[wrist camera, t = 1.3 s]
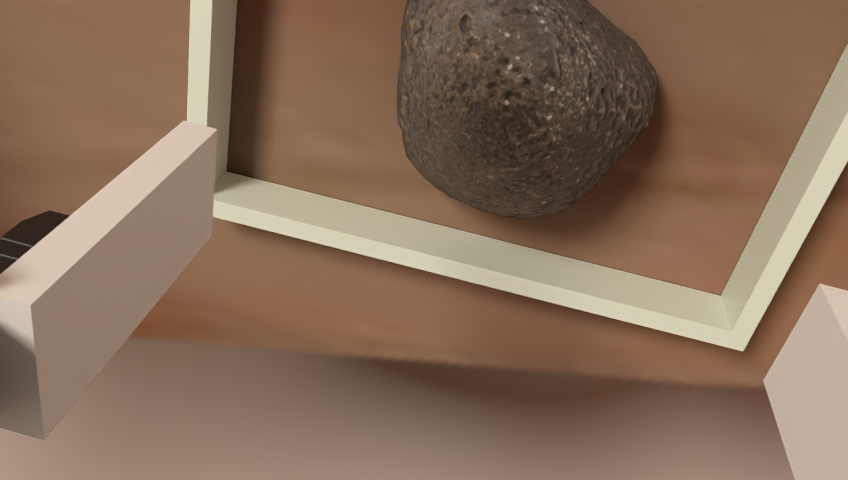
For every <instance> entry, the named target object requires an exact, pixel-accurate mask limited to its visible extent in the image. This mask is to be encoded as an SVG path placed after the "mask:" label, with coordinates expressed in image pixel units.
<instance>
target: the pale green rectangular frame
mask: <svg viewBox="0 0 848 480" xmlns="http://www.w3.org/2000/svg"><path fill="white" fill-rule="evenodd" d="M236 12H237V0H191V2H190V36H189V69H188V103H187V122H191V123H195V124H199V125H203V126H207V127H211V128H215V129H218V130H217V149H216V168H215V186H214V205H213V217H216V218H220V219H224V220H228V221H232V222H236V223H240V224H244V225H248V226H251V227H255V228H259V229H263V230H267V231H271V232H275V233H279V234H283V235H287V236H291V237H295V238H299V239H303V240H307V241H310V242H314V243H318V244H322V245H326V246H330V247H334V248H338V249H342V250H346V251H350V252H354V253H358V254H362V255H366V256H369V257H373V258H377V259H381V260H385V261H389V262H393V263H397V264H401V265H405V266H409V267H413V268H417V269H421V270H425V271H428V272H432V273H436V274H440V275H444V276H448V277H452V278H456V279H460V280H464V281H468V282H472V283H476V284H480V285H484V286H488V287H491V288H495V289H499V290H503V291H507V292H511V293H515V294H519V295H523V296H527V297H531V298H535V299H539V300H543V301H547V302H550V303H554V304H558V305H562V306H566V307H570V308H574V309H578V310H582V311H586V312H590V313H594V314H598V315H602V316H606V317H609V318H613V319H617V320H621V321H625V322H629V323H633V324H637V325H641V326H645V327H649V328H653V329H657V330H661V331H665V332H668V333H672V334H676V335H680V336H684V337H688V338H692V339H696V340H700V341H704V342H708V343H712V344H716V345H720V346H724V347H727V348H731V349H735V350H739V351H744V349H745V347H746V345H747V344H748V342H749V340H750V338H751V336H752V334H753V333H754V331H755V329H756V327H757V325H758V324H759V322H760V320H761V318H762V316H763V314H764V313H765V311H766V309H767V307H768V305H769V304H770V302H771V300H772V298H773V296H774V294H775V293H776V291H777V289H778V287H779V285H780V283H781V282H782V280H783V278H784V276H785V274H786V273H787V271H788V269H789V267H790V265H791V263H792V262H793V260H794V258H795V256H796V254H797V252H798V251H799V249H800V247H801V245H802V243H803V242H804V240H805V238H806V236H807V234H808V232H809V231H810V229H811V227H812V225H813V223H814V221H815V220H816V218H817V216H818V214H819V212H820V211H821V209H822V207H823V205H824V203H825V201H826V200H827V198H828V196H829V194H830V192H831V190H832V189H833V187H834V185H835V183H836V181H837V180H838V178H839V176H840V174H841V172H842V170H843V169H844V167H845V165H846V163H847V161H848V44H847V46H846V48H845V50H844V52H843V54H842V56H841V58H840V60H839V62H838V64H837V66H836V68H835V70H834V72H833V74H832V76H831V78H830V80H829V82H828V84H827V86H826V88H825V90H824V92H823V94H822V96H821V98H820V100H819V102H818V104H817V106H816V108H815V109H814V111H813V113H812V115H811V117H810V119H809V121H808V123H807V125H806V127H805V129H804V131H803V133H802V135H801V137H800V139H799V141H798V143H797V145H796V147H795V149H794V151H793V153H792V155H791V157H790V159H789V161H788V163H787V165H786V167H785V169H784V171H783V173H782V175H781V177H780V179H779V181H778V183H777V185H776V187H775V189H774V191H773V193H772V195H771V197H770V199H769V201H768V203H767V205H766V207H765V209H764V211H763V213H762V215H761V217H760V219H759V221H758V223H757V225H756V227H755V229H754V231H753V233H752V235H751V237H750V239H749V241H748V243H747V245H746V247H745V249H744V251H743V253H742V255H741V257H740V259H739V261H738V263H737V265H736V267H735V269H734V271H733V273H732V275H731V277H730V279H729V281H728V283H727V285H726V287H725V289H724V291H723V293H722V295H721V296H719V295H715V294H711V293H707V292H703V291H699V290H695V289H691V288H687V287H683V286H679V285H675V284H671V283H667V282H663V281H659V280H655V279H651V278H647V277H643V276H639V275H635V274H632V273H628V272H624V271H620V270H616V269H612V268H608V267H604V266H600V265H596V264H592V263H588V262H584V261H580V260H576V259H572V258H568V257H564V256H560V255H556V254H552V253H548V252H544V251H540V250H536V249H532V248H528V247H524V246H520V245H516V244H512V243H508V242H505V241H501V240H497V239H493V238H489V237H485V236H481V235H477V234H473V233H469V232H465V231H461V230H457V229H453V228H449V227H445V226H441V225H437V224H433V223H429V222H425V221H421V220H417V219H413V218H409V217H405V216H401V215H397V214H393V213H389V212H385V211H381V210H377V209H374V208H370V207H366V206H362V205H358V204H354V203H350V202H346V201H342V200H338V199H334V198H330V197H326V196H322V195H318V194H314V193H310V192H306V191H302V190H298V189H294V188H290V187H286V186H282V185H278V184H274V183H270V182H266V181H262V180H258V179H254V178H250V177H247V176H243V175H239V174H235V173H231V172H227V157H228V141H229V125H230V109H231V93H232V77H233V61H234V45H235V29H236Z"/></svg>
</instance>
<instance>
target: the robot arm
mask: <svg viewBox="0 0 848 480" xmlns="http://www.w3.org/2000/svg"><path fill="white" fill-rule="evenodd" d="M217 130H218V129H215V128H211V127H207V126H203V125H199V124H195V123H191V122H187V121H183V122H181V123H180V124H179V125H178V126H177V127H176V128H174V129H173V130H172V131H171V132H170V133H168V134H167V135H166V136H165V137H164V138H162V139H161V140H160V141H159V142H158V143H156V144H155V145H154V146H153V147H152V148H150V149H149V150H148V151H147V152H146V153H144V154H143V155H142V156H141V157H140V158H139V159H137V160H136V161H135V162H134V163H133V164H131V165H130V166H129V167H128V168H127V169H125V170H124V171H123V172H122V173H121V174H119V175H118V176H117V177H116V178H115V179H113V180H112V181H111V182H110V183H109V184H107V185H106V186H105V187H104V188H103V189H102V190H100V191H99V192H98V193H97V194H96V195H94V196H93V197H92V198H91V199H90V200H88V201H87V202H86V203H85V204H84V205H82V206H81V207H80V208H79V209H78V210H76V211H75V212H74V213H73V214H72V215H70V216H68V215H65V214H61V213H57V212H53V211H47V212H45V213H42V214H39V215H37V216H34V217H31V218H29V219H26V220H23V221H21V222H20V223H19V224H18V225H16V226H15V227H14V228H12V229H11V230H10V231H8V232H7V233H6V234H5V235H3V236H2V239H1V240H0V428H4V429H8V430H11V431H15V432H19V433H22V434H25V435H29V436H33V437H36V438H40V439H43V440H44V439H45V438H46V437H47V436H48V434H49V433H50V432H51V431H52V430H53V428H54V427H55V426H56V425H57V424H58V422H59V421H60V420H61V419H62V417H63V416H64V415H65V414H66V413H67V411H68V410H69V409H70V408H71V406H72V405H73V404H74V403H75V402H76V400H77V399H78V398H79V397H80V395H81V394H82V393H83V392H84V391H85V389H86V388H87V387H88V386H89V384H90V383H91V382H92V381H93V380H94V379H95V377H96V376H97V375H98V374H99V372H100V371H101V370H102V369H103V368H104V366H105V365H106V364H107V363H108V361H109V360H110V359H111V358H112V357H113V355H114V354H115V353H116V352H117V350H118V349H119V348H120V347H121V346H122V344H123V343H124V342H125V341H126V340H127V338H128V337H129V336H130V335H131V333H132V332H133V331H134V330H135V329H136V327H137V326H138V325H139V324H140V322H141V321H142V320H143V319H144V318H145V316H146V315H147V314H148V313H149V312H150V310H151V309H152V308H153V307H154V305H155V304H156V303H157V302H158V301H159V299H160V298H161V297H162V296H163V294H164V293H165V292H166V291H167V290H168V288H169V287H170V286H171V285H172V283H173V282H174V281H175V280H176V279H177V277H178V276H179V275H180V274H181V273H182V271H183V270H184V269H185V268H186V266H187V265H188V264H189V263H190V262H191V260H192V259H193V258H194V257H195V255H196V254H197V253H198V252H199V251H200V249H201V248H202V247H203V246H204V245H205V243H206V242H207V241H208V240H209V238H210V237H211V236H212V223H213V205H214V186H215V168H216V149H217ZM763 381H764V385H765V388H766V391H767V394H768V397H769V400H770V403H771V406H772V410H773V412H774V416H775V419H776V422H777V425H778V428H779V432H780V435H781V438H782V441H783V444H784V447H785V450H786V453H787V457H788V460H789V462H790V466H791V469H792V472H793V475H794V479H795V480H848V291H846V290H842V289H838V288H834V287H831V286H827V285H823V284H819V286H818V287H817V289H816V291H815V292H814V294H813V296H812V298H811V299H810V301H809V303H808V305H807V306H806V308H805V310H804V311H803V313H802V315H801V317H800V318H799V320H798V322H797V323H796V325H795V327H794V329H793V330H792V332H791V334H790V335H789V337H788V339H787V341H786V342H785V344H784V346H783V348H782V349H781V351H780V353H779V354H778V356H777V358H776V360H775V361H774V363H773V365H772V366H771V368H770V370H769V372H768V373H767V375H766V377H765V378H764V380H763Z"/></svg>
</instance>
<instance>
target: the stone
mask: <svg viewBox="0 0 848 480" xmlns="http://www.w3.org/2000/svg"><path fill="white" fill-rule="evenodd" d="M656 87H657V78H656V70H655V69H654V68H653V66H652V65H651V64H650V62H649V61H648V59H647V58H646V56H645V55H644V53H643V52H642V50H641V49H640V47H639V46H638V44H637V43H636V42H635V41H634V40H633V39H632V38H630V37H629V36H628V35H626V34H625V33H624V32H623V31H621V30H620V29H619V28H618V27H616V26H615V25H614V24H613V23H612V22H610V21H609V20H608V19H607V18H606V17H605V16H604V15H603V14H601V13H600V12H599V11H598V10H597V9H596V8H595V7H593V6H592V5H591V4H590V3H589V2H588V1H587V0H408V1H407V4H406V7H405V12H404V18H403V23H402V29H401V57H400V64H399V71H398V88H397V117H398V124H399V126H400V127H401V129H402V139H403V144H404V148H405V152H406V156H407V157H408V159H409V160H410V161H411V163H412V164H413V165H414V167H415V168H416V169H417V170H418V171H419V172H420V173H421V175H422V176H423V177H424V178H425V179H426V180H428V181H429V182H430V183H431V184H432V185H433V186H435V187H436V188H438V189H439V190H441V191H442V192H444V193H445V194H446V195H448V196H449V197H451V198H453V199H456V200H459V201H461V202H464V203H466V204H468V205H470V206H472V207H474V208H476V209H478V210H483V211H488V212H491V213H494V214H497V215H501V216H506V217H517V218H527V217H535V216H542V215H549V214H552V213H554V212H558V211H563V210H565V209H567V208H569V207H571V206H573V205H574V204H575V203H576V202H577V201H578V200H579V199H580V198H581V197H582V196H584V195H585V194H586V193H587V192H588V191H589V190H590V189H591V188H592V187H593V186H595V185H596V184H597V183H598V182H599V181H600V179H601V178H602V177H603V176H604V175H605V174H606V173H607V172H608V171H609V170H610V169H611V168H612V167H613V166H614V165H615V164H616V163H617V161H618V160H619V158H620V157H621V155H622V154H623V152H624V151H625V150H626V149H627V148H628V147H629V146H630V145H631V144H632V143H633V141H634V140H635V139H636V138H637V136H638V135H639V134H640V133H641V132H642V131H643V130H644V129H645V128H646V127H647V126H648V123H649V120H650V118H651V115H652V111H653V107H654V104H655V96H656Z"/></svg>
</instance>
